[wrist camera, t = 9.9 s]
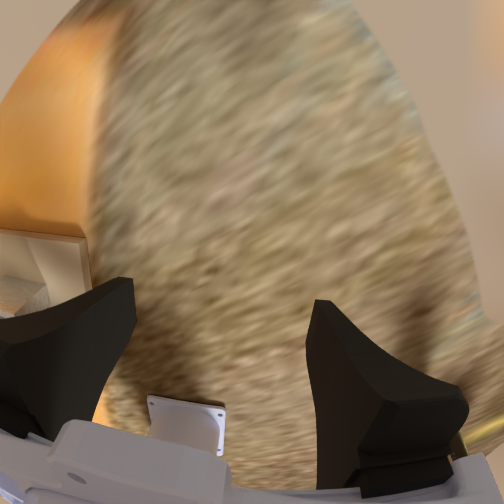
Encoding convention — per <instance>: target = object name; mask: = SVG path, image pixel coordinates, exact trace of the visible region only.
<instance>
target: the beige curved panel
mask: <svg viewBox="0 0 504 504" xmlns="http://www.w3.org/2000/svg"><path fill="white" fill-rule="evenodd" d="M4 275H7V276H11V277H16V278H20V279H25V280H29V281H34V282H39V283H44V284H47V289H48V293H49V298H50V302H51V307H53V306H56V305H58V304H61V303H63V302H65V301H68V300H70V299H72V298H74V297H77V296H79V295H81V294H83V293H85V292H87V291H89V290H91V289H92V282H91V275H90V267H89V259H88V249H87V239H86V238H80V237H72V236H63V235H54V234H45V233H36V232H27V231H19V230H10V229H1V228H0V278H2V277H3V276H4ZM0 319H4V317H2V316H0Z"/></svg>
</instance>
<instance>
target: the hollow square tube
mask: <svg viewBox="0 0 504 504" xmlns="http://www.w3.org/2000/svg"><path fill="white" fill-rule="evenodd" d="M50 307H51V302H50V298H49V293H48V289H47V284H44V283H39V282H34V281H29V280H25V279H20V278H16V277H11V276H7V275H4V276H3V277H2V278H0V316H2V317H4V318H11V317H16V316H21V315H25V314H29V313H33V312H37V311H41V310H44V309H47V308H50Z"/></svg>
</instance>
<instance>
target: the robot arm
mask: <svg viewBox="0 0 504 504" xmlns="http://www.w3.org/2000/svg"><path fill="white" fill-rule="evenodd" d="M136 322H137V318H136V308H135V298H134V286H133V278H126V277H117V278H114V279H112V280H110V281H107V282H105V283H103V284H101V285H99V286H97V287H95V288H93V289H91V290H89V291H87V292H85V293H83V294H81V295H79V296H77V297H74V298H72V299H70V300H68V301H65V302H63V303H61V304H58V305H56V306H53V307H50V308H47V309H44V310H41V311H37V312H33V313H29V314H25V315H21V316H16V317H11V318H4V319H0V496H1V497H2V498H4V499H5V500H7V501H9V502H10V503H11V504H504V502H503V499H502V497H501V494H500V491H499V489H498V486H497V484H496V482H495V479H494V477H493V474H492V472H491V469H490V467H489V465H488V463H487V460H486V458H485V456H484V454H483V453H482V452H480V453H477V454H473V455H470V456H466V457H463V458H459V459H457V460H455V461H453V462H452V463H450V462H449V459H448V457H447V456H449V455H450V454H451V448H450V446H449V442H450V441H451V440H452V439H453V437H454V436H455V435H456V434H457V432H458V431H459V430H460V428H461V427H462V426H463V424H464V423H465V421H466V419H467V417H468V414H469V405H468V403H467V401H466V399H465V398H464V396H463V394H462V392H461V390H460V389H459V387H458V386H455V385H452V384H449V383H446V382H443V381H440V380H438V379H435V378H432V377H430V376H428V375H426V374H423V373H421V372H419V371H417V370H415V369H413V368H411V367H409V366H408V365H406V364H404V363H403V362H401V361H399V360H397V359H396V358H394V357H393V356H391V355H390V354H388V353H387V352H386V351H384V350H383V349H381V348H380V347H379V346H377V345H376V344H375V343H374V342H373V341H371V340H370V339H369V338H368V337H367V336H366V335H364V334H363V333H362V332H361V331H360V330H359V329H358V328H357V327H356V326H355V325H354V324H353V323H352V322H351V321H350V320H349V319H348V318H347V317H346V316H345V315H344V314H343V313H342V312H341V311H340V310H339V309H338V308H337V307H336V305H335V304H333V303H332V302H331V301H328V300H316V299H315V303H314V307H313V312H312V316H311V320H310V325H309V329H308V333H307V338H306V361H307V368H308V373H309V379H310V384H311V389H312V395H313V400H314V406H315V413H316V429H317V486H316V490H268V489H251V488H244V487H240V486H235V485H231V478H232V472H231V470H230V468H229V466H228V464H227V462H225V461H224V460H223V459H221V458H219V457H218V456H221V455H223V446H224V431H225V417H226V409H225V408H224V407H221V406H213V405H206V404H199V403H193V402H186V401H180V400H175V399H169V398H164V397H158V396H153V395H148V397H147V404H148V409H149V414H150V419H151V423H152V424H151V427H150V430H149V433H148V436H147V437H146V436H142V435H138V434H134V433H130V432H126V431H122V430H118V429H115V428H111V427H107V426H104V425H101V424H97V423H94V422H91V421H92V418H93V415H94V412H95V409H96V406H97V403H98V401H99V398H100V395H101V393H102V390H103V388H104V385H105V383H106V381H107V379H108V377H109V376H110V374H111V372H112V370H113V368H114V367H115V365H116V363H117V361H118V360H119V358H120V356H121V354H122V352H123V351H124V349H125V347H126V345H127V344H128V342H129V340H130V337H131V335H132V332H133V330H134V327H135V324H136Z"/></svg>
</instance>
